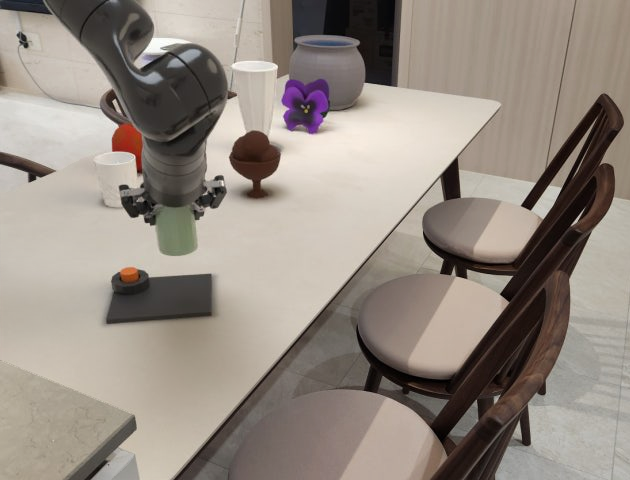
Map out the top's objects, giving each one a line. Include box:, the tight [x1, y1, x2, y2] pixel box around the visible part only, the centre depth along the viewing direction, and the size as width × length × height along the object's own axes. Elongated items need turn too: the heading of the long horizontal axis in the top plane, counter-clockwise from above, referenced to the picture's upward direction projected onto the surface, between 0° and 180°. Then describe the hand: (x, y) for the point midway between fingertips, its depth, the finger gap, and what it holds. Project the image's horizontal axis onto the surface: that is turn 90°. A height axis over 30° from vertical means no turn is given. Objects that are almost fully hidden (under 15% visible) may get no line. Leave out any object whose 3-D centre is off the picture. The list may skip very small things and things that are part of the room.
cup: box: [230, 60, 281, 153], centre depth 160 cm, size 12×12×22 cm
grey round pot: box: [288, 34, 366, 111], centre depth 205 cm, size 25×25×20 cm
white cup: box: [93, 151, 140, 209], centre depth 130 cm, size 8×8×10 cm
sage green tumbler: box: [154, 206, 199, 257], centre depth 92 cm, size 6×6×8 cm
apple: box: [111, 121, 143, 172], centre depth 148 cm, size 10×10×12 cm
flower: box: [280, 79, 330, 135], centre depth 185 cm, size 15×15×14 cm
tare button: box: [119, 266, 139, 283], centre depth 101 cm, size 3×3×2 cm
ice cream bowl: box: [228, 130, 282, 199], centre depth 135 cm, size 11×11×15 cm
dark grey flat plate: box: [105, 268, 213, 325], centre depth 100 cm, size 15×12×3 cm
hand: (173, 216), depth 93 cm, fingers closed on sage green tumbler, 5 cm apart
